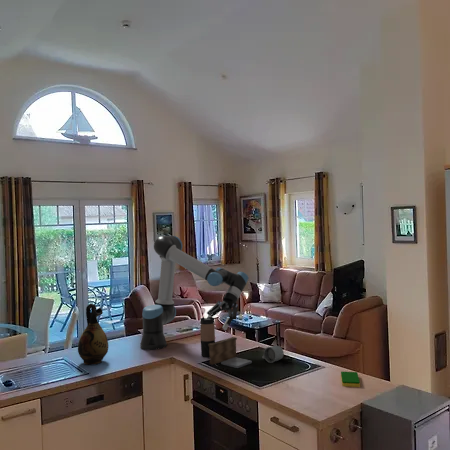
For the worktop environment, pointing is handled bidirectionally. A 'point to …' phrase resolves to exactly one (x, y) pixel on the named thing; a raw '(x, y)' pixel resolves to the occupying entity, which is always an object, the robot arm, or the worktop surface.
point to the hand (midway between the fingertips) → (214, 327)
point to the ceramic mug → (273, 354)
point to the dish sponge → (350, 379)
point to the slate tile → (236, 362)
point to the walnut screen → (222, 350)
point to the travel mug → (207, 335)
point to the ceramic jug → (93, 338)
